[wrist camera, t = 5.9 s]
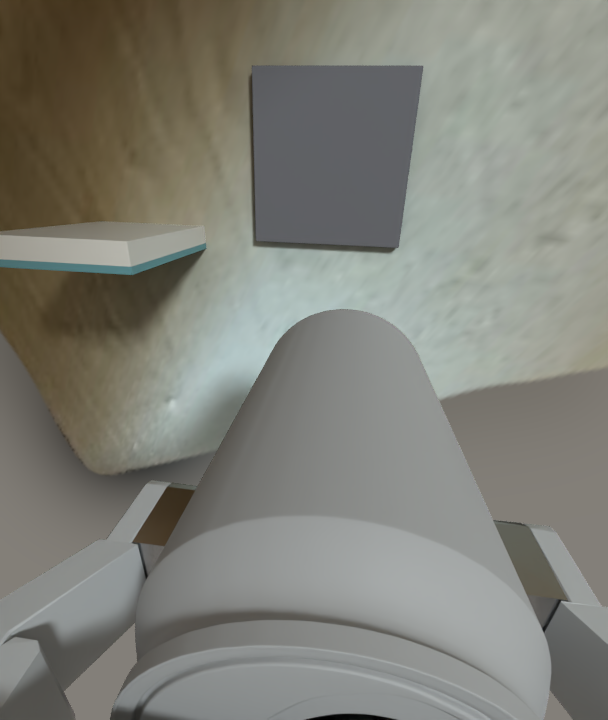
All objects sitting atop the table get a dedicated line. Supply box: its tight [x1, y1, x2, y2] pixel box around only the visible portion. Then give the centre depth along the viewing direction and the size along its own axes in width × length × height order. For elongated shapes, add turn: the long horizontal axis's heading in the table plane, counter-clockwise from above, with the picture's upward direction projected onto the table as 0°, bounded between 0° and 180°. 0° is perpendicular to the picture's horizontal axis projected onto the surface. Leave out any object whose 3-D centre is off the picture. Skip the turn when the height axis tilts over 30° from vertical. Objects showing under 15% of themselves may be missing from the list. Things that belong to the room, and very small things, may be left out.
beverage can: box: [110, 309, 551, 720], centre depth 10 cm, size 6×6×12 cm
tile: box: [0, 221, 206, 275], centre depth 22 cm, size 2×8×10 cm, turn 88°
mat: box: [252, 66, 423, 248], centre depth 23 cm, size 10×10×1 cm
